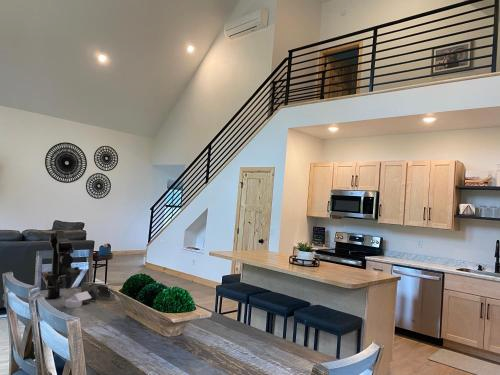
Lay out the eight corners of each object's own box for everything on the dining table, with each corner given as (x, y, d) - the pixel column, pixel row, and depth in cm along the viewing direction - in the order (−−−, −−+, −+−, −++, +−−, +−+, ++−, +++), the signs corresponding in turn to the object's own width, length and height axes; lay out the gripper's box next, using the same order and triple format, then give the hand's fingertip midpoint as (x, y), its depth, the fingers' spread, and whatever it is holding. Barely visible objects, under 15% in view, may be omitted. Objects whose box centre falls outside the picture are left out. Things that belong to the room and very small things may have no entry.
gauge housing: (82, 296, 233) (83, 283, 233) (87, 294, 237) (88, 281, 237) (110, 300, 225) (110, 287, 225) (114, 299, 228) (115, 285, 229)
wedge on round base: (81, 300, 223) (62, 306, 211) (82, 290, 223) (62, 294, 212) (91, 303, 218) (71, 308, 207) (91, 292, 219) (72, 297, 207)
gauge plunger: (77, 297, 226) (77, 283, 226) (85, 294, 232) (86, 281, 232) (99, 301, 220) (100, 287, 220) (107, 298, 226) (107, 284, 226)
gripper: (60, 266, 194) (58, 296, 193) (87, 261, 211) (86, 288, 211) (45, 264, 198) (43, 293, 197) (73, 259, 215) (71, 286, 215)
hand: (62, 290), depth 205 cm, fingers open, 6 cm apart
